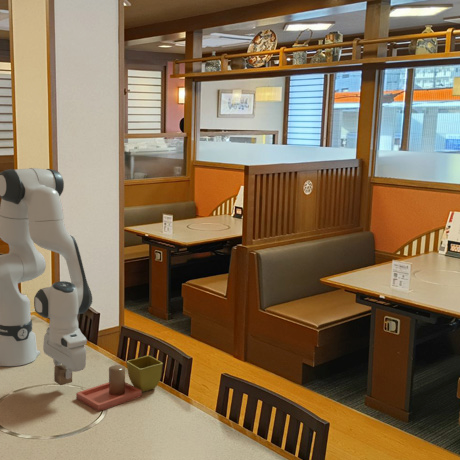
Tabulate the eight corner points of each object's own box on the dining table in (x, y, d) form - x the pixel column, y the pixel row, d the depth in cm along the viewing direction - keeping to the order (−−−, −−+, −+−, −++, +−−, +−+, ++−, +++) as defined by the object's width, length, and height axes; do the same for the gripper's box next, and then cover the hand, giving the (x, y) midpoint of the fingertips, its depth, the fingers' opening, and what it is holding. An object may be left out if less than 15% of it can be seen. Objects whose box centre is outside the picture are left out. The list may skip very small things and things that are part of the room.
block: (54, 381, 195) (54, 366, 194) (65, 377, 198) (65, 363, 197) (60, 385, 192) (60, 370, 191) (72, 382, 195) (72, 367, 194)
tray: (76, 398, 190) (76, 392, 190) (118, 384, 201) (118, 378, 201) (98, 411, 182) (98, 405, 181) (141, 396, 193) (141, 390, 193)
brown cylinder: (105, 392, 193) (105, 368, 192) (118, 387, 197) (118, 364, 196) (115, 397, 190) (115, 372, 189) (128, 392, 194) (128, 368, 192)
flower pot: (139, 396, 193) (139, 369, 192) (125, 387, 200) (125, 360, 198) (163, 389, 199) (163, 363, 197) (148, 380, 205) (149, 355, 204)
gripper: (38, 326, 197) (38, 367, 200) (71, 345, 183) (71, 388, 186) (56, 322, 202) (55, 362, 204) (90, 340, 187) (89, 383, 190)
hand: (63, 375), depth 195 cm, fingers closed on block, 4 cm apart
